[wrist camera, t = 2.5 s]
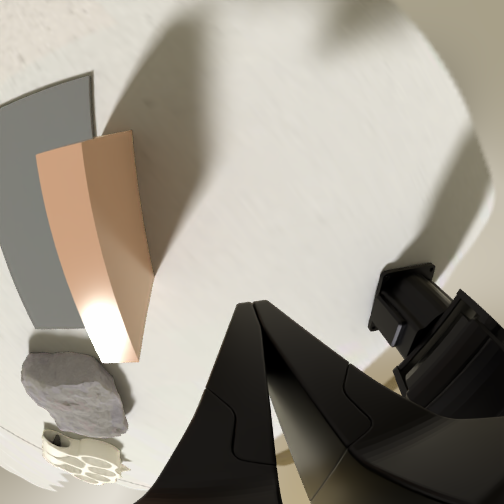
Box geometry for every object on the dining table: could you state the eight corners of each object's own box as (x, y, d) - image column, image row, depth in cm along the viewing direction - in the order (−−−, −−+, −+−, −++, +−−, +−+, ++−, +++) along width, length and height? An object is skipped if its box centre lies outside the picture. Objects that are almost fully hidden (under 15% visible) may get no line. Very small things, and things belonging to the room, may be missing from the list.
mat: (90, 76, 13) (88, 75, 12) (134, 323, 21) (134, 326, 20) (-21, 119, 11) (-23, 119, 11) (36, 326, 19) (35, 328, 19)
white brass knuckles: (45, 415, 26) (141, 450, 31) (44, 451, 31) (116, 476, 37) (40, 434, 23) (141, 469, 28) (41, 465, 28) (115, 490, 34)
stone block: (102, 336, 23) (19, 348, 20) (102, 375, 19) (10, 384, 16) (137, 404, 29) (67, 412, 26) (143, 437, 25) (67, 444, 22)
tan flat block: (132, 129, 15) (81, 142, 8) (154, 276, 19) (138, 362, 12) (99, 136, 15) (32, 155, 8) (126, 279, 19) (99, 363, 12)
